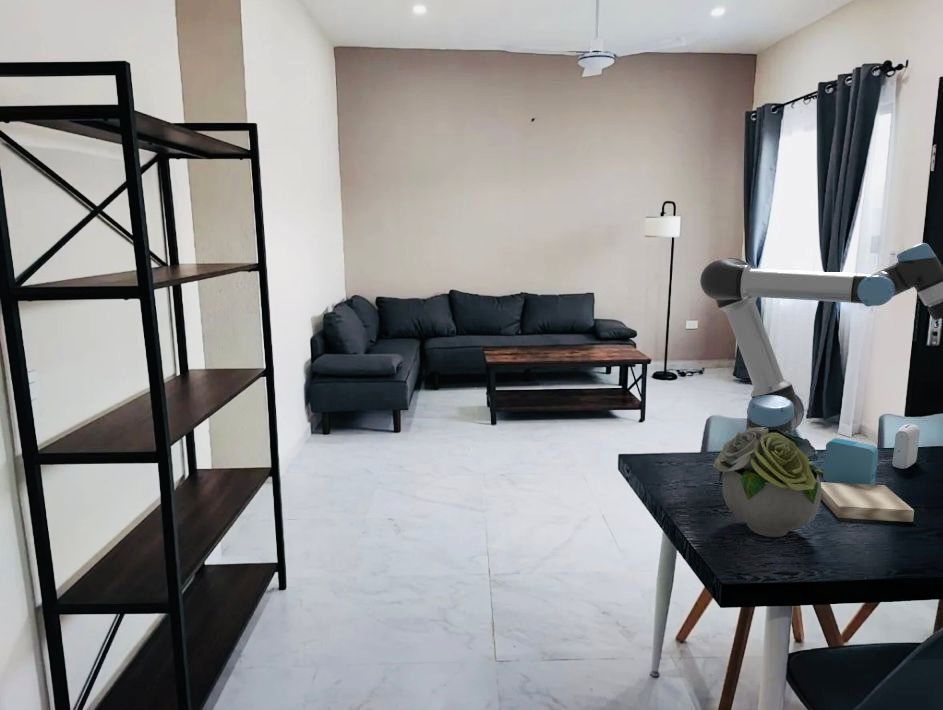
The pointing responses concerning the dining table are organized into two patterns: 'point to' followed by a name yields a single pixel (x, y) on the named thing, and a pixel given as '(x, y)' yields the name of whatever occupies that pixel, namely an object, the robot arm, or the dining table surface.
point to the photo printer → (906, 446)
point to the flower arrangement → (770, 480)
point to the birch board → (865, 502)
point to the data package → (850, 462)
